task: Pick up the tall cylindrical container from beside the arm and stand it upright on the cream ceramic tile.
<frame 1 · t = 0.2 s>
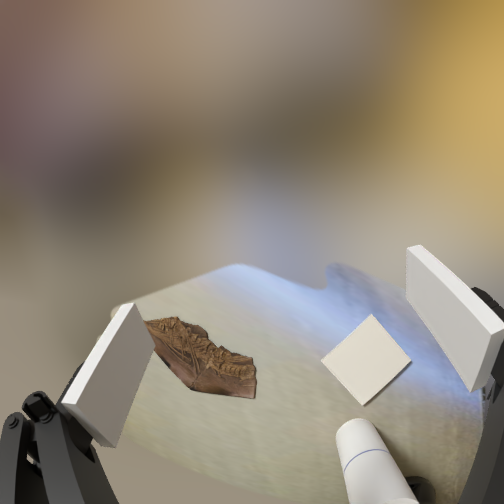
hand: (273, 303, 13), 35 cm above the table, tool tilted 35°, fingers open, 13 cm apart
cylindrical container: (355, 435, 42), on the table
ceramic tile: (366, 360, 44), on the table
brown relief tablet: (192, 356, 49), on the table
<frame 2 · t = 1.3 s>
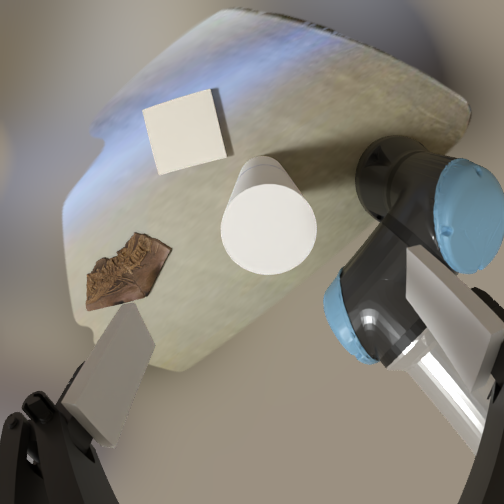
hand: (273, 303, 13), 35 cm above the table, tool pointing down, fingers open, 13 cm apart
cylindrical container: (262, 178, 45), on the table
ceramic tile: (184, 132, 42), on the table
brown relief tablet: (120, 278, 53), on the table
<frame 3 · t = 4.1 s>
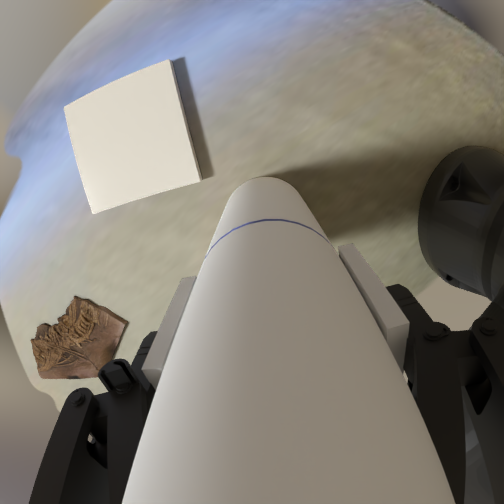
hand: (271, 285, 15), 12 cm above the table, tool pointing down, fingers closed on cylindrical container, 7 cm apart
cylindrical container: (265, 216, 26), on the table, touching gripper
ceramic tile: (128, 138, 23), on the table
brown relief tablet: (70, 349, 34), on the table
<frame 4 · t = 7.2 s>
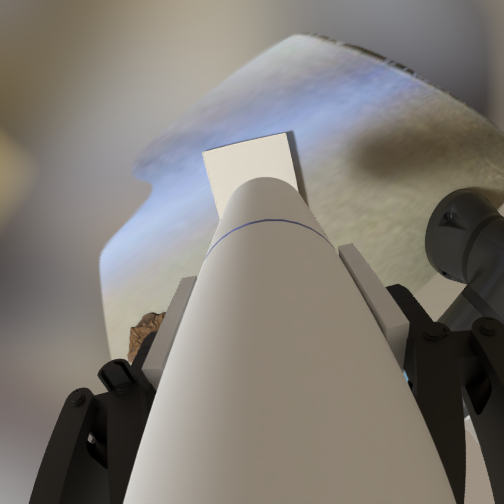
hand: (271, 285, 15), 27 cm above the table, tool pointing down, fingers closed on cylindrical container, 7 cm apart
cylindrical container: (265, 216, 26), point 14 cm above the table, touching gripper
ceramic tile: (253, 181, 39), on the table
brown relief tablet: (170, 333, 50), on the table
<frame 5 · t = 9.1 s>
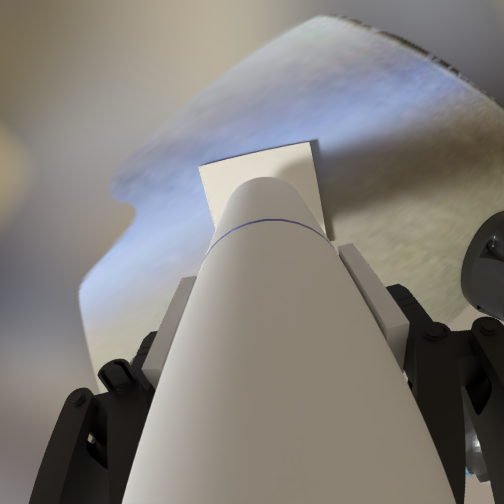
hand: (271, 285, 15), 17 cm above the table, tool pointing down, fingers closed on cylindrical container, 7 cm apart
cylindrical container: (265, 216, 26), point 5 cm above the table, touching gripper
ceramic tile: (265, 204, 30), on the table
when the fingers open (15 cm above the table, at t = 10.4 s): cylindrical container drops 1 cm, resting on ceramic tile.
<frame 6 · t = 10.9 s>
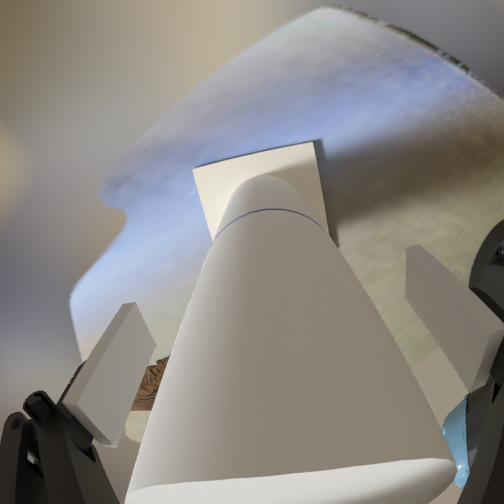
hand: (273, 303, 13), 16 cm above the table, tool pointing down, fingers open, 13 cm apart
cylindrical container: (265, 213, 27), point 1 cm above the table, touching ceramic tile
ceramic tile: (265, 209, 28), on the table
brown relief tablet: (161, 386, 39), on the table
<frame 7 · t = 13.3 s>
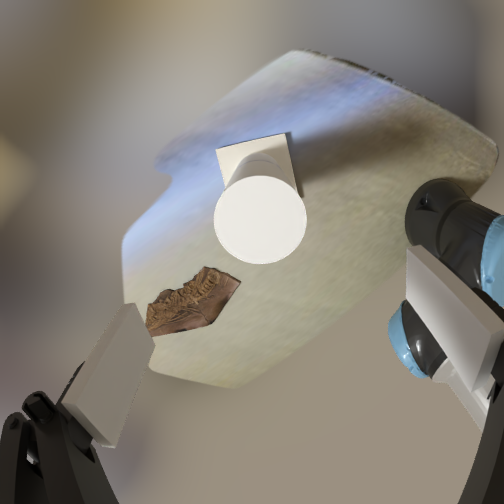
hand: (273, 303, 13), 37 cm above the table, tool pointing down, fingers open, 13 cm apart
cylindrical container: (258, 174, 46), point 1 cm above the table, touching ceramic tile
ceramic tile: (258, 173, 47), on the table
brown relief tablet: (184, 308, 58), on the table
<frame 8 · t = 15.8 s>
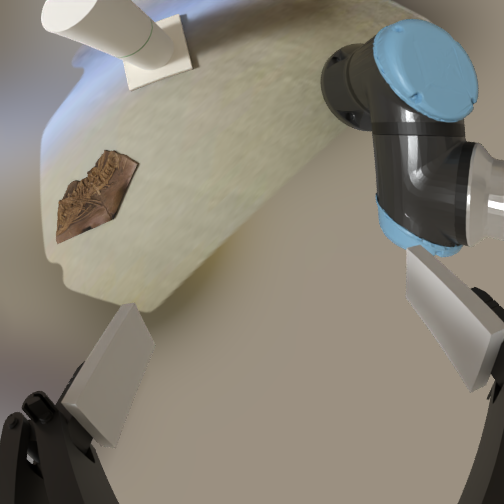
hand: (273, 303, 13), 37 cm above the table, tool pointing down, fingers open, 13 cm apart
cylindrical container: (153, 51, 38), point 1 cm above the table, touching ceramic tile
ceramic tile: (155, 52, 39), on the table
brown relief tablet: (90, 202, 49), on the table
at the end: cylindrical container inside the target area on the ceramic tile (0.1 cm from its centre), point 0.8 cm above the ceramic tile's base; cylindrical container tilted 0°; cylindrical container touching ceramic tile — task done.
